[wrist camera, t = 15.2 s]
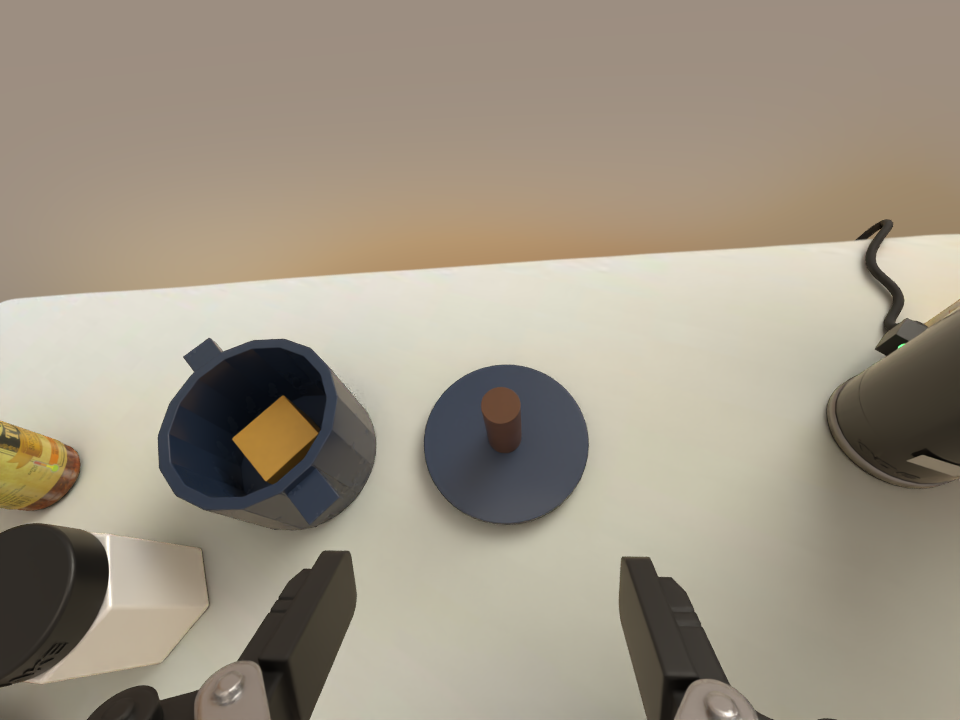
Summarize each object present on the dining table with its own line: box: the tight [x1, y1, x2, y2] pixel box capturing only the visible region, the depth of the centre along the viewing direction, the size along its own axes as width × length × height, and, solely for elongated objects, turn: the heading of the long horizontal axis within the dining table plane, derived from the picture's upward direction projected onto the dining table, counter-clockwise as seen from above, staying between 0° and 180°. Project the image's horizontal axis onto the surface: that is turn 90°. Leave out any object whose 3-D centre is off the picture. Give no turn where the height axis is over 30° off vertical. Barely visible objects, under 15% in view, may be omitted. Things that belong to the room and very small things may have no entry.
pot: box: [158, 338, 376, 530], centre depth 35 cm, size 13×18×10 cm
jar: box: [0, 523, 209, 687], centre depth 29 cm, size 9×8×12 cm
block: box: [232, 395, 321, 484], centre depth 37 cm, size 5×5×5 cm
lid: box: [424, 365, 589, 525], centre depth 35 cm, size 14×14×8 cm
